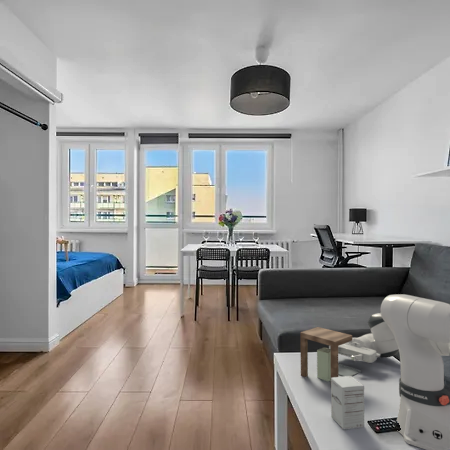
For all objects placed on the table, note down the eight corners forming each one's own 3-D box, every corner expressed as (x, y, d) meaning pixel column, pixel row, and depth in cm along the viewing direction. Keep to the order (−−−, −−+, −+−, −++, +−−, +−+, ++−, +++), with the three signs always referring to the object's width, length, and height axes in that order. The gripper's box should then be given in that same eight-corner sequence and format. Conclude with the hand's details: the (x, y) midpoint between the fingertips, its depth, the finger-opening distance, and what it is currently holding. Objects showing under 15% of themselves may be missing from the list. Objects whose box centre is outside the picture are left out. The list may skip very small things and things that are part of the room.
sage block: (335, 378, 141) (335, 350, 141) (328, 381, 138) (327, 353, 138) (324, 374, 145) (324, 347, 145) (317, 377, 141) (317, 349, 142)
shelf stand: (352, 379, 139) (352, 335, 139) (335, 389, 131) (335, 341, 131) (318, 367, 151) (317, 326, 151) (300, 375, 143) (300, 332, 144)
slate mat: (361, 371, 147) (361, 370, 147) (348, 378, 140) (348, 377, 140) (335, 363, 156) (335, 362, 156) (322, 369, 150) (322, 368, 150)
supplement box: (330, 417, 112) (330, 377, 112) (352, 414, 113) (351, 375, 113) (342, 430, 104) (342, 387, 105) (365, 427, 106) (364, 385, 106)
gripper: (382, 362, 150) (366, 370, 141) (339, 349, 165) (322, 356, 156) (382, 347, 150) (365, 354, 141) (339, 336, 165) (322, 342, 157)
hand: (342, 355), depth 149 cm, fingers open, 8 cm apart
